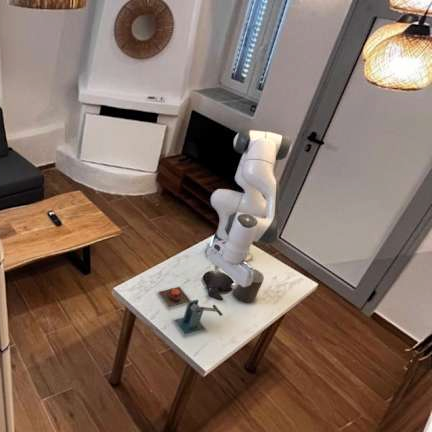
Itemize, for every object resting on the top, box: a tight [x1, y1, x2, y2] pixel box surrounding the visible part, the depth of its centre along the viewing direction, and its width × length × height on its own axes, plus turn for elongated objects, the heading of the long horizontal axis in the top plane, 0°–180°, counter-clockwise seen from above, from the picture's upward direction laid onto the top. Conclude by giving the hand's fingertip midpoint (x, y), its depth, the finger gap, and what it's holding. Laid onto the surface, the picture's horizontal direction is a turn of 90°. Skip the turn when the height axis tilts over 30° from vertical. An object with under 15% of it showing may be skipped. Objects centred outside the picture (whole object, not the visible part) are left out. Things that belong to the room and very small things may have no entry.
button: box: [171, 288, 180, 297], centre depth 185 cm, size 4×4×2 cm
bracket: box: [174, 299, 206, 335], centre depth 170 cm, size 10×8×14 cm
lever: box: [190, 303, 223, 317], centre depth 170 cm, size 16×6×2 cm, turn 109°
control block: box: [158, 286, 191, 307], centre depth 186 cm, size 11×9×4 cm
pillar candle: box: [232, 268, 265, 304], centre depth 184 cm, size 10×10×15 cm
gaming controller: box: [206, 283, 224, 302], centre depth 189 cm, size 10×5×6 cm
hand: (224, 280), depth 162 cm, fingers open, 8 cm apart
